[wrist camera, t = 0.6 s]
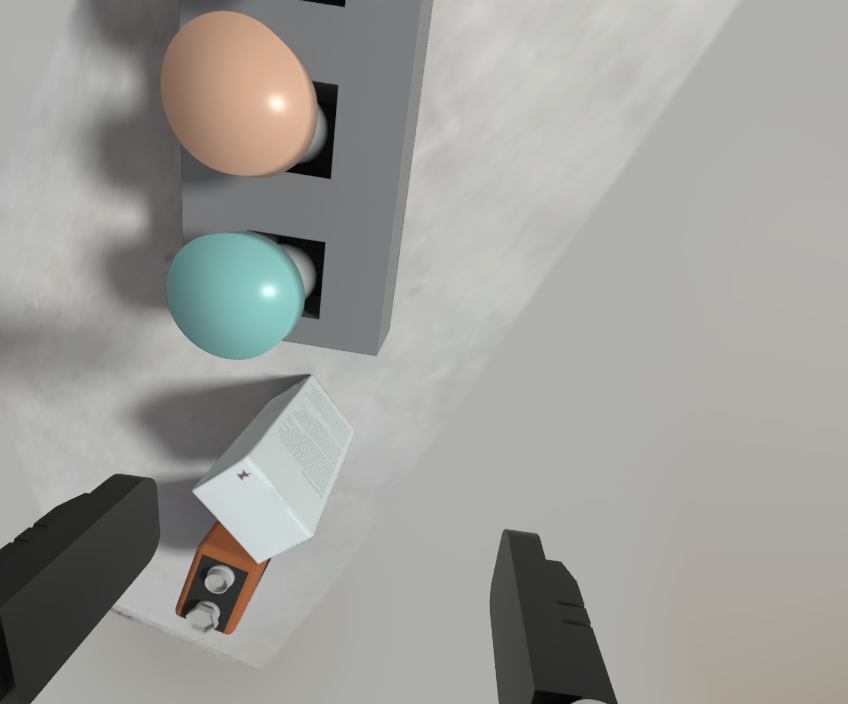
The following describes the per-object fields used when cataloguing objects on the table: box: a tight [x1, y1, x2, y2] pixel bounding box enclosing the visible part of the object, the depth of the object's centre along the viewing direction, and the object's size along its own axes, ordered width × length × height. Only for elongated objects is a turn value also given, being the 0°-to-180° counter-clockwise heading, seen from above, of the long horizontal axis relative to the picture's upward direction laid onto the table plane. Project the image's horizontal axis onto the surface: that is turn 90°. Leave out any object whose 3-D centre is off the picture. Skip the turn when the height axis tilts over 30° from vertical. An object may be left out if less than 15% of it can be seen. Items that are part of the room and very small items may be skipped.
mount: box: [179, 0, 433, 356], centre depth 27 cm, size 24×12×6 cm, turn 171°
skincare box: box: [192, 375, 355, 564], centre depth 30 cm, size 6×4×12 cm
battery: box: [176, 520, 272, 634], centre depth 34 cm, size 4×7×10 cm, turn 155°
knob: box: [166, 231, 316, 360], centre depth 24 cm, size 6×6×8 cm
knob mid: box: [160, 11, 328, 178], centre depth 21 cm, size 6×6×8 cm
